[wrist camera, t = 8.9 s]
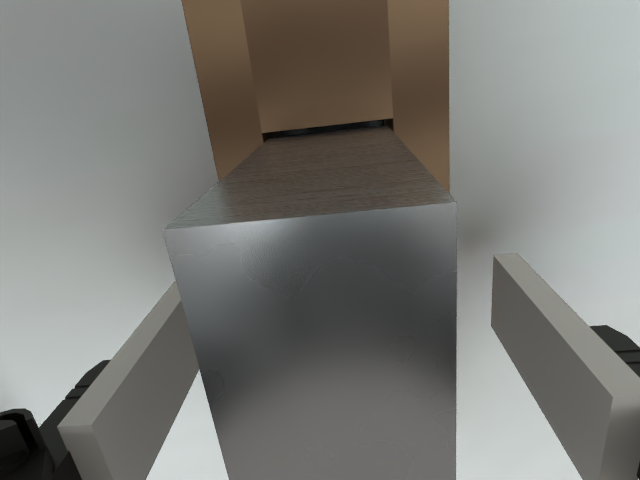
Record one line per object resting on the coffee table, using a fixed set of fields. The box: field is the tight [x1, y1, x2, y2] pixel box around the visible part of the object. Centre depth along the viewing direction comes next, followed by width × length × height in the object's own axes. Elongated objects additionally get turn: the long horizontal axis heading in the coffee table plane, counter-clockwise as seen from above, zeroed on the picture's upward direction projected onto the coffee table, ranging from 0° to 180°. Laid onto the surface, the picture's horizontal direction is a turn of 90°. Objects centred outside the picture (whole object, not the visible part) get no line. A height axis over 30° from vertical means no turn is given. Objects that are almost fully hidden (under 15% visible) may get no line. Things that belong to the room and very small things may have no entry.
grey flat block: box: [163, 126, 457, 480], centre depth 13 cm, size 12×4×12 cm, turn 7°
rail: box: [182, 0, 449, 193], centre depth 18 cm, size 22×8×4 cm, turn 7°
